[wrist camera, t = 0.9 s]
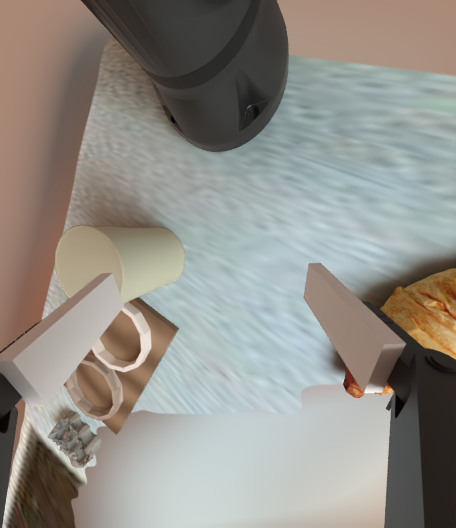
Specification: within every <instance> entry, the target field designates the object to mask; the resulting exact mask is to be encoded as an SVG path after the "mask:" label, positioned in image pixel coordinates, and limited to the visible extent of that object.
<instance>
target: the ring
mask: <svg viewBox="0 0 456 528" xmlns="http://www.w3.org/2000/svg"><path fill="white" fill-rule="evenodd" d="M122 311H123V312H124V313H125V314H127V315H128V316H129V317H130V318H131V319H132V321H133V322H134V324H135V326H136V328H137V330H138V332H139V334H140V343H141V352H140V354H139V356H138V358H137V360H134V361H132V362H127V361H123V360H119V359H116V358H115V357H114V356H113V355H112V354H111V353H109V352H108V351H107V350H106V349H105V348H104V346H103V344H102V342H101V340H100V338H99V339H98V341H97V342H96V343H95V345H94V346H93V347H92V348H91V349H92V351H93V352H94V354H95V356H96V357H97V358H98V359H99V360H100V361H102V362H103V363H104V364H105V365H106V366H107V367H108V368H111V369H114V370H118V371H121V372H127V371H129V370H132V369H135V368H137V367H139V366H140V365H141V364H142V363H143V362H144V361H145V359H146V357H147V355H148V354H149V352H150V350H151V331H150V328H149V326H148V324H147V322H146V320H145V318H144V316H143V315H142V313H141V311H140V310H138V309H137V308H136V307H135V306H133V305H132V304H131V303H129V302H126V303H124V307H123V308H122Z"/></svg>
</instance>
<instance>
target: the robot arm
mask: <svg viewBox="0 0 456 528" xmlns="http://www.w3.org/2000/svg"><path fill="white" fill-rule="evenodd" d="M81 1H82V2H83V3H84V4H85V5H86V6H87V8H88V9H89V10H90V11H91V12H92V13H93V14H94V15H95V16H96V17H97V19H98V20H99V21H100V22H101V23H102V24H103V25H104V26H105V27H106V28H107V29H108V31H109V32H110V33H111V34H112V35H113V36H114V37H115V38H116V40H117V41H118V42H119V43H120V44H121V45H122V46H123V47H124V48H125V49H126V51H127V52H128V53H129V54H130V55H131V56H132V57H133V58H134V59H135V61H136V62H137V63H138V64H139V65H140V66H141V67H142V68H143V70H144V71H145V72H146V73H147V74H148V75H149V78H150V80H151V82H152V84H153V86H154V89H155V91H156V93H157V95H158V98H159V100H160V102H161V104H162V106H163V109H164V111H165V113H166V115H167V117H168V119H169V120H170V122H171V123H172V125H173V126H174V127H175V129H176V130H177V131H178V132H179V133H180V134H181V135H182V136H183V137H184V138H186V139H187V140H188V141H189V142H190V143H191V144H193V145H194V146H196V147H198V148H201V149H203V150H207V151H214V152H220V151H227V150H231V149H234V148H237V147H239V146H241V145H243V144H245V143H247V142H248V141H250V140H251V139H253V138H254V137H255V136H256V135H257V134H259V133H260V132H261V131H262V130H263V128H264V127H265V126H266V125H267V124H268V122H269V121H270V120H271V118H272V117H273V115H274V113H275V112H276V110H277V108H278V106H279V104H280V102H281V99H282V96H283V94H284V90H285V86H286V82H287V76H288V37H287V31H286V26H285V22H284V19H283V16H282V13H281V11H280V8H279V6H278V3H277V0H81ZM304 299H305V301H306V302H307V304H308V306H309V307H310V309H311V310H312V312H313V314H314V315H315V317H316V318H317V320H318V321H319V323H320V325H321V326H322V328H323V329H324V331H325V333H326V334H327V336H328V337H329V339H330V341H331V342H332V344H333V345H334V347H335V348H336V350H337V352H338V353H339V355H340V356H341V358H342V360H343V361H344V363H345V364H346V366H347V368H348V369H349V371H350V372H351V374H352V375H353V377H354V379H355V380H356V382H357V383H358V385H359V387H360V388H361V390H362V391H363V393H380V392H383V390H384V388H385V386H386V384H387V383H388V384H389V386H390V387H391V388H392V389H393V391H394V394H393V396H392V397H391V399H390V401H389V403H388V405H387V407H386V409H387V410H390V409H391V421H390V438H389V456H388V474H387V491H386V508H385V526H384V527H385V528H456V359H454V358H452V357H451V356H449V355H447V354H445V353H443V352H440V351H437V350H434V349H430V348H424V347H423V346H422V345H421V344H420V343H418V342H417V341H416V340H415V339H414V338H413V337H412V336H410V335H409V334H408V333H407V332H406V331H405V330H404V329H402V328H401V327H400V326H399V325H398V324H397V323H395V322H394V321H393V320H392V319H391V318H390V317H388V316H387V315H386V314H385V313H384V312H383V311H382V310H381V309H379V308H378V307H376V306H374V305H372V304H371V303H369V302H361V301H360V300H359V299H358V298H357V297H356V296H355V295H354V294H353V293H352V292H351V291H350V290H348V289H347V288H346V287H345V286H344V285H343V284H342V283H341V282H340V281H339V280H338V279H337V278H336V277H335V276H334V275H333V274H331V273H330V272H329V271H328V270H327V269H326V268H325V267H324V266H323V265H322V264H321V263H310V264H309V265H308V272H307V279H306V285H305V292H304ZM123 307H124V304H123V301H122V298H121V295H120V292H119V290H118V287H117V284H116V281H115V278H114V275H113V273H101V274H100V275H99V276H97V277H96V278H95V279H94V280H92V281H91V282H90V283H89V284H87V285H86V286H85V287H84V288H82V289H81V290H80V291H79V292H77V293H76V294H75V295H74V296H72V297H71V298H70V299H69V300H67V301H66V302H65V303H64V304H62V305H61V306H60V307H59V308H57V309H56V310H55V311H53V312H52V313H51V314H50V315H48V316H47V317H46V318H45V319H43V320H42V321H40V322H38V323H36V324H35V325H34V326H32V327H31V328H30V329H29V330H27V331H26V332H25V334H22V335H21V336H20V337H18V338H17V340H16V341H13V342H12V343H11V344H9V345H8V346H7V347H6V348H4V349H3V350H2V351H0V528H2V524H3V517H4V510H5V503H6V495H7V488H8V481H9V474H10V467H11V459H12V452H13V445H14V438H15V431H16V424H17V416H18V410H17V408H16V407H15V405H16V404H17V403H18V401H19V400H20V399H21V398H22V399H23V400H24V401H25V402H26V403H27V404H28V406H48V404H49V403H50V402H51V400H52V399H53V398H54V396H55V395H56V394H57V393H58V391H59V390H60V389H61V387H62V386H63V385H64V383H65V382H66V381H67V380H68V378H69V377H70V376H71V374H72V373H73V372H74V370H75V369H76V368H77V367H78V365H79V364H80V363H81V361H82V360H83V359H84V358H85V356H86V355H87V354H88V352H89V351H90V350H91V348H92V347H93V346H94V345H95V343H96V342H97V341H98V339H99V338H100V337H101V335H102V334H103V333H104V332H105V330H106V329H107V328H108V326H109V325H110V324H111V323H112V321H113V320H114V319H115V317H116V316H117V315H118V313H119V312H120V311H121V310H122V308H123Z"/></svg>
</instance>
